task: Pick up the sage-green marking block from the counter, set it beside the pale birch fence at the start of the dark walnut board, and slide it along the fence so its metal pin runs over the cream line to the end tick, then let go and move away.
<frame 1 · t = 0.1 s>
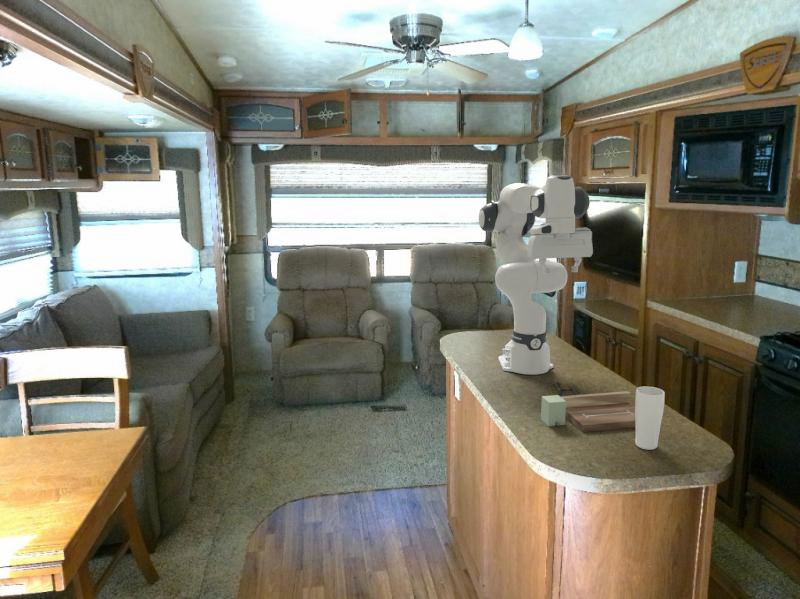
hand: (560, 272, 182), 39 cm above the worktop, tool pointing down, fingers open, 8 cm apart
drinking glass: (646, 446, 150), on the worktop
marking block: (552, 422, 166), on the worktop
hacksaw: (578, 398, 185), on the worktop, touching walnut board
walnut board: (605, 418, 167), on the worktop
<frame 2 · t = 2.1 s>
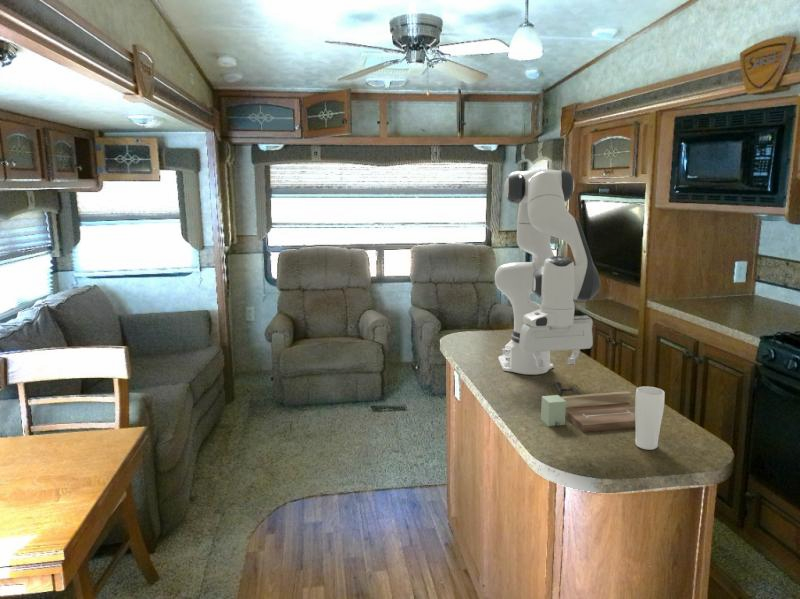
hand: (555, 365, 162), 17 cm above the worktop, tool pointing down, fingers open, 8 cm apart
nothing on the worktop moved.
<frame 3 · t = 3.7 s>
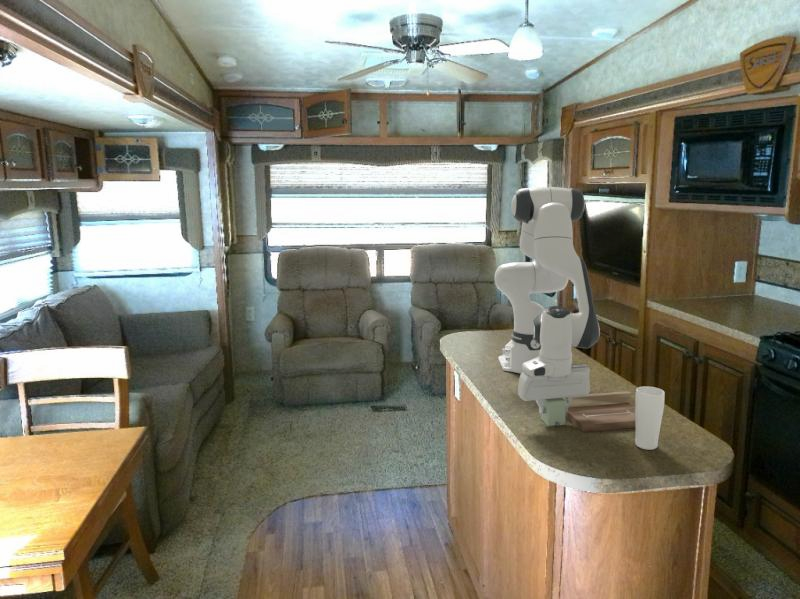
hand: (553, 412, 165), 3 cm above the worktop, tool pointing down, fingers closed on marking block, 5 cm apart
marking block: (552, 421, 166), on the worktop, touching gripper
everything else where it was.
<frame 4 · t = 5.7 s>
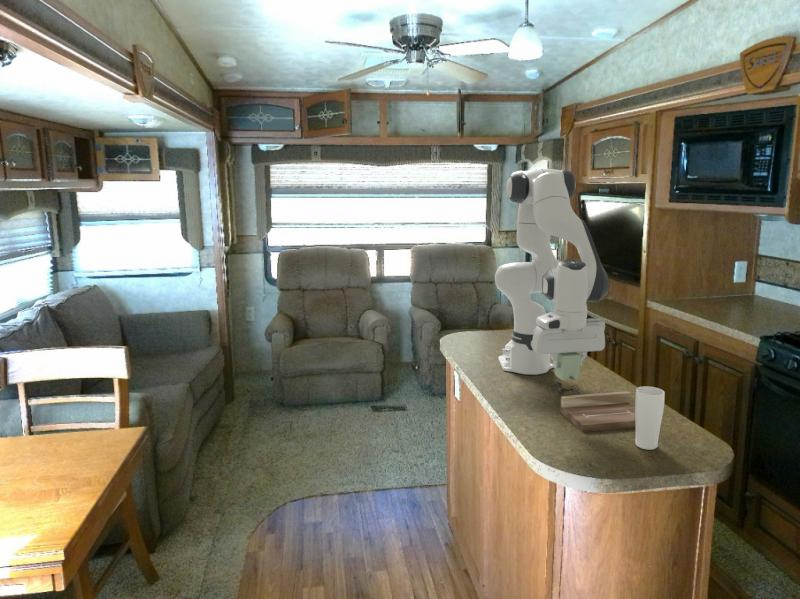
hand: (567, 366, 164), 16 cm above the worktop, tool pointing down, fingers closed on marking block, 5 cm apart
marking block: (567, 376, 165), point 13 cm above the worktop, touching gripper
everything else where it was.
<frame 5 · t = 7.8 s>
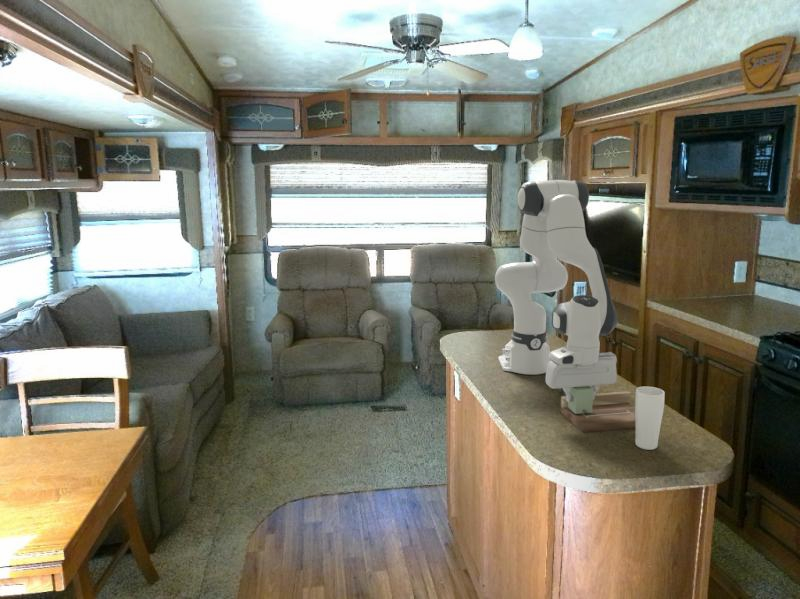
hand: (580, 400, 167), 5 cm above the worktop, tool pointing down, fingers closed on marking block, 5 cm apart
marking block: (579, 409, 168), point 2 cm above the worktop, touching gripper
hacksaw: (578, 398, 185), on the worktop
everything else where it was.
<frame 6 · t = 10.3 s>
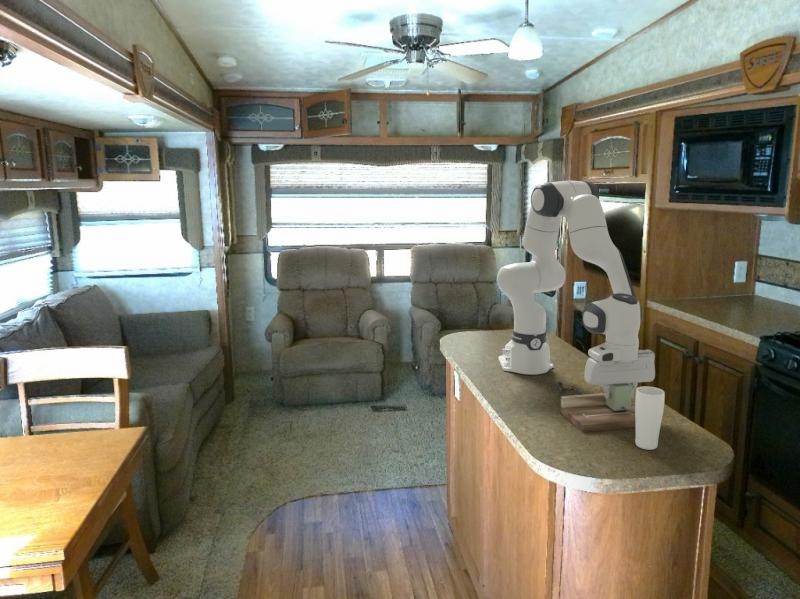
hand: (618, 397, 169), 5 cm above the worktop, tool pointing down, fingers closed on marking block, 5 cm apart
marking block: (617, 406, 170), point 2 cm above the worktop, touching gripper
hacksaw: (579, 398, 185), on the worktop, touching walnut board
everything else where it was.
when the fingers open (5 cm above the worktop, at t = 12.0 s): marking block stays where it is, resting on walnut board.
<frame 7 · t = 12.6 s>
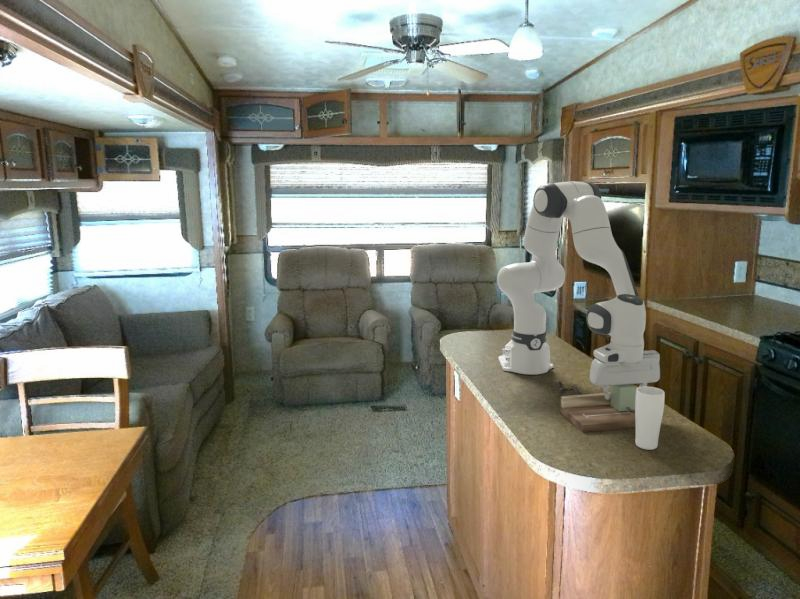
hand: (623, 397, 170), 5 cm above the worktop, tool pointing down, fingers open, 8 cm apart
marking block: (622, 407, 170), point 2 cm above the worktop, touching walnut board
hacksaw: (579, 398, 185), on the worktop
everything else where it was.
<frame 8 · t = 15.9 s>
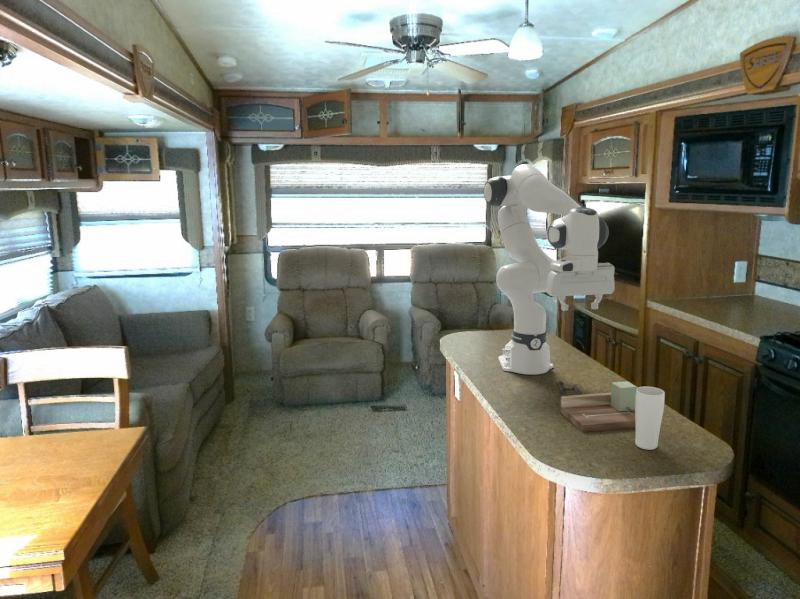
hand: (579, 309, 175), 29 cm above the worktop, tool pointing down, fingers open, 8 cm apart
nothing on the worktop moved.
at the end: marking block 0.5 cm from the target spot on the walnut board, point 2.1 cm above the walnut board's base; marking block tilted 1°; the gripper is holding nothing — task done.
